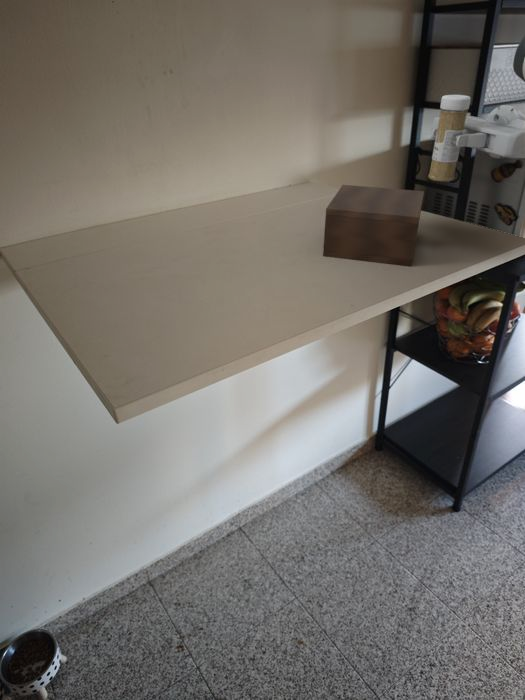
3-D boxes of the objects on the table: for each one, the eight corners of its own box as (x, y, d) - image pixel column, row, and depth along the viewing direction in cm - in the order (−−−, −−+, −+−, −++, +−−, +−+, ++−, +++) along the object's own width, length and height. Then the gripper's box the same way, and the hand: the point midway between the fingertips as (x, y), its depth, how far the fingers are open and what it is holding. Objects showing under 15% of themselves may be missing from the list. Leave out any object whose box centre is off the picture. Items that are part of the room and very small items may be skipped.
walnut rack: (416, 235, 102) (424, 191, 97) (410, 266, 89) (419, 217, 84) (339, 227, 106) (342, 184, 101) (322, 255, 93) (326, 208, 88)
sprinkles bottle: (426, 175, 92) (439, 93, 84) (451, 176, 91) (467, 94, 84) (430, 182, 88) (445, 97, 80) (456, 182, 87) (474, 97, 80)
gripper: (471, 104, 96) (410, 109, 92) (559, 121, 80) (491, 127, 76) (464, 139, 99) (405, 145, 95) (547, 161, 83) (482, 170, 79)
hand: (444, 137), depth 85 cm, fingers closed on sprinkles bottle, 4 cm apart
